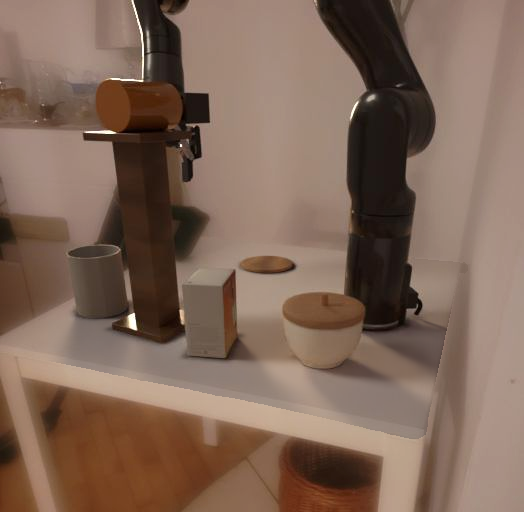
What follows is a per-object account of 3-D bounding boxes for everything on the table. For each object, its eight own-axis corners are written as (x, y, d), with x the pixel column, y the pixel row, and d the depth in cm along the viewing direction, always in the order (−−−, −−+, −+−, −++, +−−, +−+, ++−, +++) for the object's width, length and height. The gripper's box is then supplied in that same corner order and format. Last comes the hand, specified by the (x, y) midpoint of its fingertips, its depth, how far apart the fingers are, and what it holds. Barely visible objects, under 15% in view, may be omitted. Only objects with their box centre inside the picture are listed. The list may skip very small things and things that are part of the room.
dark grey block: (189, 122, 76) (187, 93, 74) (210, 123, 74) (208, 93, 72) (166, 123, 72) (163, 93, 70) (187, 124, 70) (185, 92, 68)
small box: (225, 359, 67) (222, 286, 62) (186, 356, 68) (180, 283, 63) (238, 335, 74) (236, 267, 69) (202, 332, 75) (198, 265, 70)
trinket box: (366, 378, 62) (373, 309, 58) (282, 377, 62) (283, 309, 58) (354, 341, 72) (359, 280, 67) (281, 341, 72) (281, 280, 68)
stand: (155, 308, 84) (136, 129, 71) (202, 320, 79) (191, 130, 67) (112, 329, 76) (82, 132, 63) (161, 343, 71) (139, 134, 59)
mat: (288, 257, 112) (288, 254, 111) (296, 271, 102) (296, 269, 102) (240, 259, 111) (239, 256, 110) (243, 273, 101) (243, 271, 101)
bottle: (182, 127, 76) (179, 84, 74) (213, 128, 74) (211, 83, 71) (99, 132, 63) (91, 79, 61) (133, 133, 61) (127, 78, 58)
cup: (86, 300, 87) (76, 244, 83) (132, 299, 87) (125, 244, 83) (70, 318, 80) (58, 258, 75) (120, 318, 80) (112, 258, 75)
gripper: (137, 71, 82) (142, 172, 85) (207, 90, 91) (210, 180, 94) (118, 84, 88) (123, 178, 91) (186, 100, 97) (189, 185, 100)
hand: (167, 179), depth 93 cm, fingers open, 8 cm apart
